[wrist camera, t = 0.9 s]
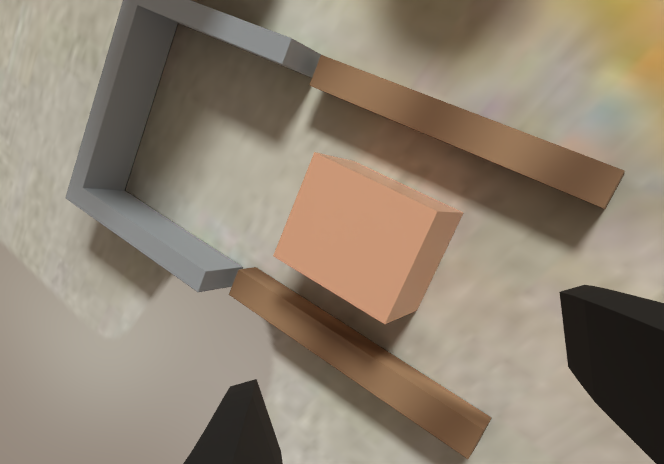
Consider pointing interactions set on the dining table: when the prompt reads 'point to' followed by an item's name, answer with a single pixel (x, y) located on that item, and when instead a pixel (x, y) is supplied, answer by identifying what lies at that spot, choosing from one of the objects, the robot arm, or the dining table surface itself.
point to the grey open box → (130, 119)
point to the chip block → (366, 236)
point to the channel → (353, 348)
